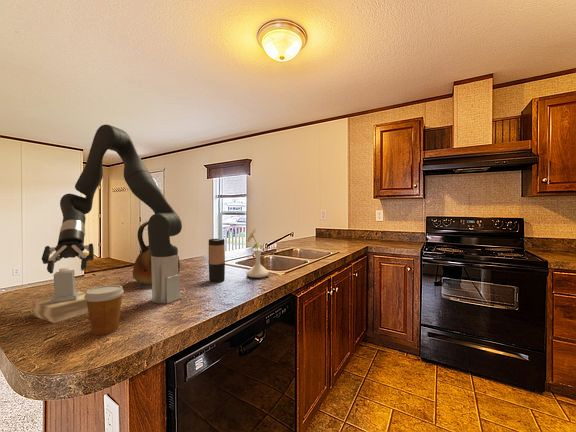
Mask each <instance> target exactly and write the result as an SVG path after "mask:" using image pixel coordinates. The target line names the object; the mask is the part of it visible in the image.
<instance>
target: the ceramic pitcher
mask: <svg viewBox="0 0 576 432" xmlns="http://www.w3.org/2000/svg"><path fill="white" fill-rule="evenodd" d="M148 221H149V220H147V221H146V222H143V223H142V224H141V225H140V226H139V228H138V230H137V240H138V241H137V242H138V244H139V246H140V253H139V255H137V258H136V260H135V261H134V264H133V267H132V278H133V280H135V281H136V282H138V283H140V284H145V285H152V265H151V264H152V263H151V250H150V248H149V244H148V245H146V244H145V241H144V239H143V237H144V236H143V234H144V230H145V229H146V226H147V227H148ZM180 271H181V263H180V256H179V255H178V274H179V275H180Z"/></svg>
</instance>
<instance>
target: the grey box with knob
mask: <svg viewBox="0 0 576 432" xmlns="http://www.w3.org/2000/svg"><path fill="white" fill-rule="evenodd" d="M75 280H76V279H75V269H71V270H70V268H69V267H63V268H58V271H55V273H54V274H53V287H54V288H53V289H54V291H53V292H54V295H53V296H52V297H53V298H52V299H51V303H55V302H62V301H68V300H74V299H77V297H78V295H79V292H80V291H79V290H77V291H76V281H75ZM78 291H79V292H78Z"/></svg>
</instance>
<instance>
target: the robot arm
mask: <svg viewBox="0 0 576 432" xmlns="http://www.w3.org/2000/svg"><path fill="white" fill-rule="evenodd" d="M108 150H110V151H113V152H116V153H117V155H118V157H119V158H120V159H121V160H122V163H123V165H124V166H123V179H124V181H125V183H126V184H127V186H128V188H129V191H131V193H132V194H133V195H134V196H135V197H136V198H137V199H139V200H140V201H141V202H143V204H145V205H146V206H148V207H149V208H150V209H151V211H153V213H154V214H152V215H151V216H150V217H149V218H148V220H147V221H148V225H147V237H148V245H149V248H150V250H151V263H152V264H151V265H152V284H151V301H152V303H155V304H170V303H172V302H175V301H177V300H180V299H181V274H180V273H179V274H178V256H179V255H178V254H179V249H178V246H176V245H173V244H172V243H171V237H174V236H175V237H176V236H177V235H179V234H180V233H181V231H182V228H183V224H182V220H181V218H180V216H179V215H178V214H177V212H176V210H175V209H174V208H173V207H172V206H171V204H170V203H169V202H168V201H167V198H166V197H165V196H164V194H163V193H162V191H161V190H160V188H159V186H158V185H157V183H156V181H155V179H154V178H153V176H152V175H151V173H150V171H149V170H148V168H147V166H146V165H145V163H144V161H143V160H142V158H141V157H140V155H139V153H138V151H137V149H136V146H135V144H134V143H133V140H132V138H131V136H130V134H128V132H126V131H124V129H121V128H118V127H116V126H113V125H111V124H102V125H100V126H99V127H98V128H97V129H96V131H95V134H94V136H93V139H92V143H91V146H90V149H89V153H88V156H87V160H86V161H85V165H84V167H83V169H82V170H81V171H82V172H81V173H80V175H79V177H78V179H77V181H76V182H75V185H74V189H75V190H76V191H77V192H79V193H81V194H82V195H84V196H85V197H84V196H80V195H77V194H74V193H65V194H64V195H63V196H62V197H61V198H60V200H59V207H60V211H61V213H62V222H61V226H60V228H59V229H60V230H59V235H58V240H57V245H56V246H55V247H51V246H49V245H46V246H44V249H43V252H42V256H41V261H42V264H44V265H46V264H47V266H46V271H47V273H49V274H53V273H54V269H55V263H57V262H58V261H61V260H62V259H63V258H64V259H69V258H71V259H72V258H74V259H75V258H78V259H79V260H81V262H80V263H81V264H80V271H85V269H87V268H88V267H87V266H88V261H93V260H94V259H95V257H94V256H95V253H94V250H95V249H94V244H93V243H89V244H87V245H85V244H84V243H85V236H86V228H85V227H86V215H87V214H90V212H91V210H92V208H93V202H94V197H95V193H96V191H97V190H98V187H99V186H100V184H101V182H102V179H103V176H104V172H103V171H104V170H103V169H104V168H103V158H104V156H105V154H106V152H108ZM85 250H86V251H87V252H88V255H86V254H85V253H84V251H85ZM52 253H53V255H52ZM50 255H52V256H50Z"/></svg>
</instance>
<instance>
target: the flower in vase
mask: <svg viewBox="0 0 576 432" xmlns="http://www.w3.org/2000/svg"><path fill="white" fill-rule="evenodd" d="M255 232H256V228H253V229H252V232H250V233H249V236H248V237H247V238H246V239H247V240H246V242H247V243H249V242H250V241H251V240H252V238H253V240H254V242H255V244H254V245H253V246H252V251H253V253H254V255H255V257H254V258H255V263H254V265H253V266H252V267H251V268H249V269H248V271H247V272H246V276H247V277H250V278H255V279H257V278H258V279H259V278H265V277H268V276H269V274H270V272H269V271H268V269H266V268H265V267H264V266H263V265H262V263H261V254H262V252H263V249H259V248H260V247H261V244H260V242H259V241H258V242H257V241H256V238H255V236H254V235H255Z"/></svg>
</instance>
